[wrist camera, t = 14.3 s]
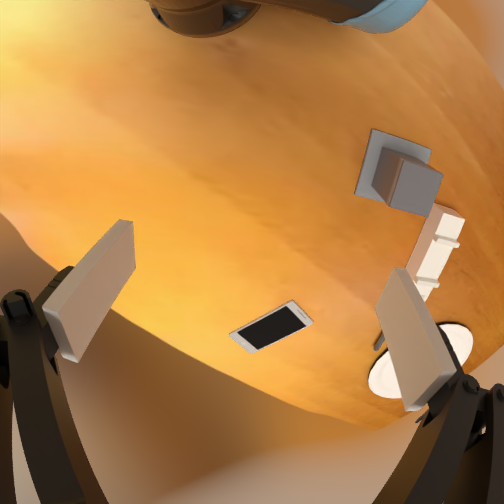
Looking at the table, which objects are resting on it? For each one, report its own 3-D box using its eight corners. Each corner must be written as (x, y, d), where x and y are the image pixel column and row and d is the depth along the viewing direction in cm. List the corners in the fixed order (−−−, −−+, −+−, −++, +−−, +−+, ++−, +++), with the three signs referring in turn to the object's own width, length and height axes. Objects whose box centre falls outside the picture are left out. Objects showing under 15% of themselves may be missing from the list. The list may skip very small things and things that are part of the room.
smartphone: (228, 332, 58) (227, 335, 57) (292, 297, 52) (292, 301, 51) (251, 351, 61) (251, 354, 60) (313, 320, 55) (314, 323, 54)
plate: (486, 339, 56) (488, 344, 55) (411, 400, 70) (412, 405, 69) (433, 301, 51) (436, 307, 49) (343, 380, 65) (343, 386, 63)
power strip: (432, 202, 40) (447, 216, 36) (453, 209, 40) (468, 223, 36) (364, 345, 57) (368, 364, 53) (383, 346, 57) (388, 364, 53)
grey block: (381, 146, 36) (403, 160, 29) (417, 158, 36) (443, 174, 30) (370, 185, 39) (388, 207, 33) (405, 195, 40) (428, 217, 33)
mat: (371, 128, 36) (372, 129, 35) (429, 148, 36) (431, 149, 35) (354, 193, 41) (355, 195, 40) (410, 208, 41) (412, 209, 41)
